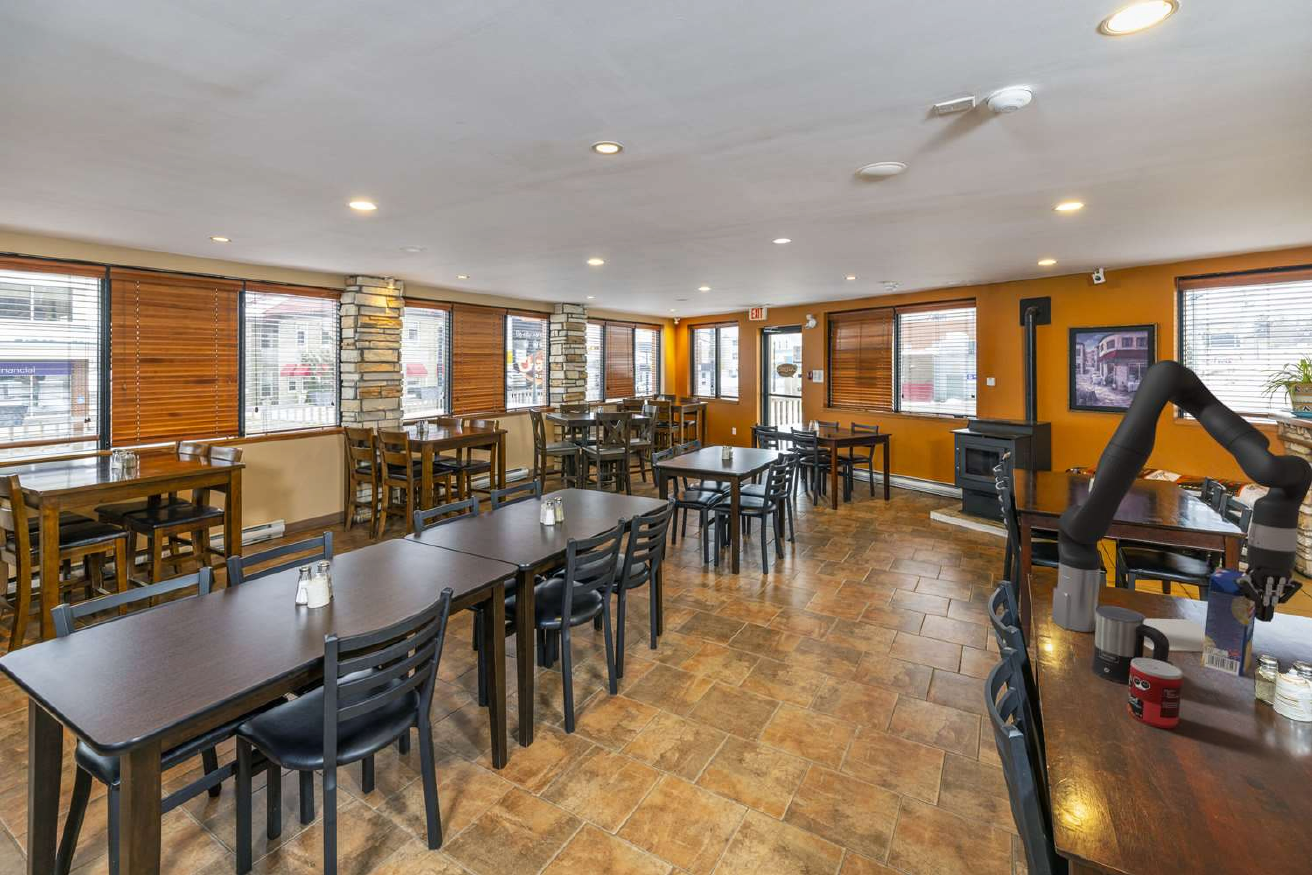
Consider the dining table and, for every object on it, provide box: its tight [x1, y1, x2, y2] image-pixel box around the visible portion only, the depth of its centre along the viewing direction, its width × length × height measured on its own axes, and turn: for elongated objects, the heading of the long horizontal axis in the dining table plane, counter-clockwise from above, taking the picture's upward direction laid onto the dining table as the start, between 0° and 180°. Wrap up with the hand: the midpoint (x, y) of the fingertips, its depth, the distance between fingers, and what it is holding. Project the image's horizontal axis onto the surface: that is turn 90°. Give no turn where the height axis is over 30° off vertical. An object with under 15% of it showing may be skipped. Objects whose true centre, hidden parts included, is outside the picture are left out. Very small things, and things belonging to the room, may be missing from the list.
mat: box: [1143, 618, 1255, 654], centre depth 159 cm, size 24×20×1 cm
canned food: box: [1126, 657, 1183, 730], centre depth 120 cm, size 8×8×11 cm
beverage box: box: [1201, 566, 1256, 677], centre depth 142 cm, size 7×11×22 cm, turn 128°
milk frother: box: [1091, 605, 1174, 684], centre depth 138 cm, size 14×16×15 cm
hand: (1263, 620), depth 133 cm, fingers closed
